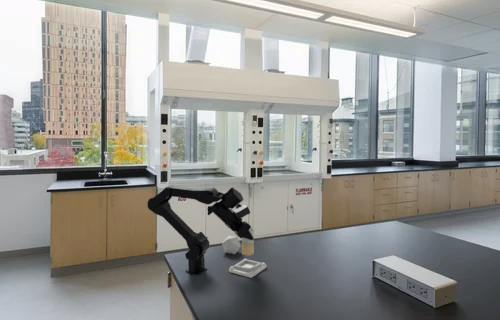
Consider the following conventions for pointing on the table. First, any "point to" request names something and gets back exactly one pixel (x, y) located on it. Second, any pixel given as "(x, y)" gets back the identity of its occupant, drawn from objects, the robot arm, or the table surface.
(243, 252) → the tan and green cylinder
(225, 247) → the die
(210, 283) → the table surface
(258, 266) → the baseplate
